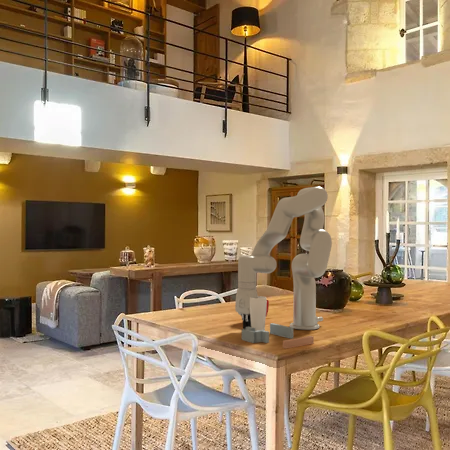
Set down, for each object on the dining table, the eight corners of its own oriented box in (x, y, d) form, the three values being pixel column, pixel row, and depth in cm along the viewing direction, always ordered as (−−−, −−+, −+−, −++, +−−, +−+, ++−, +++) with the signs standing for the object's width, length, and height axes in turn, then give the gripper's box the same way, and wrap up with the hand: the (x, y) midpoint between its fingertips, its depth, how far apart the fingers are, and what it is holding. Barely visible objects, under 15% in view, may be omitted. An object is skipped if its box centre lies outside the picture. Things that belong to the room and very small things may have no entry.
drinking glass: (256, 332, 210) (256, 295, 211) (269, 334, 206) (269, 297, 206) (246, 334, 205) (246, 297, 205) (259, 337, 201) (260, 298, 201)
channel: (272, 333, 209) (272, 323, 209) (313, 343, 191) (313, 332, 191) (237, 338, 198) (237, 328, 198) (277, 350, 180) (277, 338, 180)
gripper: (229, 284, 215) (229, 328, 215) (251, 288, 203) (251, 334, 203) (243, 283, 220) (243, 326, 220) (266, 286, 208) (265, 332, 207)
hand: (247, 330), depth 211 cm, fingers closed
